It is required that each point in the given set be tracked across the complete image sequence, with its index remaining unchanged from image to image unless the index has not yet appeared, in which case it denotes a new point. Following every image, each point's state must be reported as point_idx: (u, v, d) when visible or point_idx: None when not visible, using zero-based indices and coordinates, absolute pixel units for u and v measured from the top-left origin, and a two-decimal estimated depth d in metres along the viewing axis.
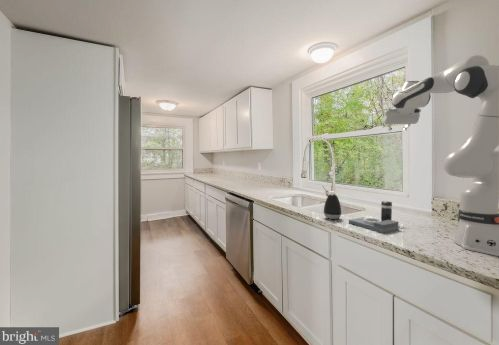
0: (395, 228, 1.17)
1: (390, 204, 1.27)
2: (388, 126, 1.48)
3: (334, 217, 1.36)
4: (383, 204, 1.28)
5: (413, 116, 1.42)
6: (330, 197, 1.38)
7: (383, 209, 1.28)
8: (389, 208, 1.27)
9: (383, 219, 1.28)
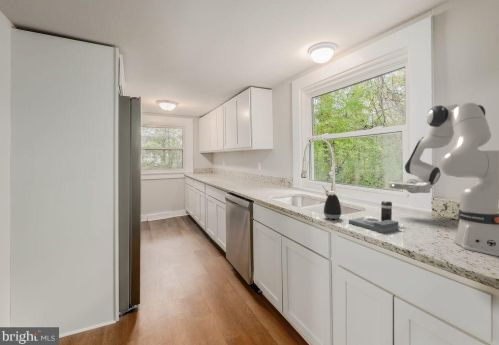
0: (395, 228, 1.17)
1: (390, 204, 1.27)
2: None
3: (334, 217, 1.36)
4: (383, 204, 1.28)
5: (421, 184, 1.33)
6: (330, 197, 1.38)
7: (383, 209, 1.28)
8: (389, 208, 1.27)
9: (383, 219, 1.28)
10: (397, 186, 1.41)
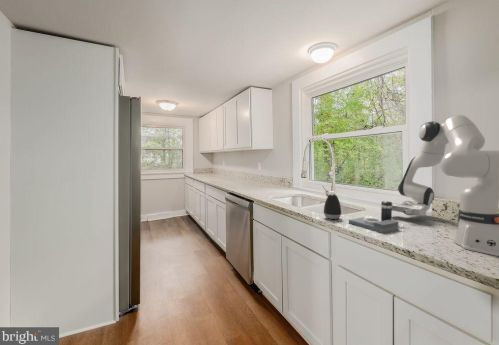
0: (395, 228, 1.17)
1: (390, 204, 1.27)
2: None
3: (334, 217, 1.36)
4: (383, 204, 1.28)
5: (417, 207, 1.32)
6: (330, 197, 1.38)
7: (383, 209, 1.28)
8: (389, 208, 1.27)
9: (383, 219, 1.28)
10: (393, 208, 1.40)
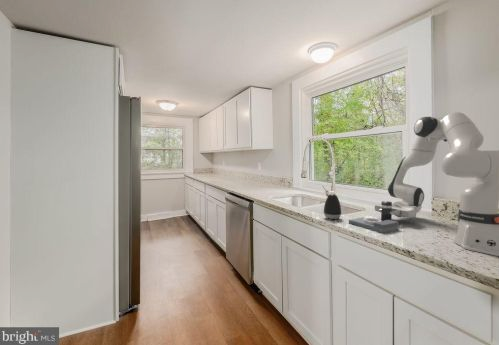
0: (395, 228, 1.17)
1: (390, 204, 1.27)
2: None
3: (334, 217, 1.36)
4: (383, 204, 1.28)
5: None
6: (330, 197, 1.38)
7: (383, 209, 1.28)
8: (389, 208, 1.27)
9: (383, 219, 1.28)
10: None
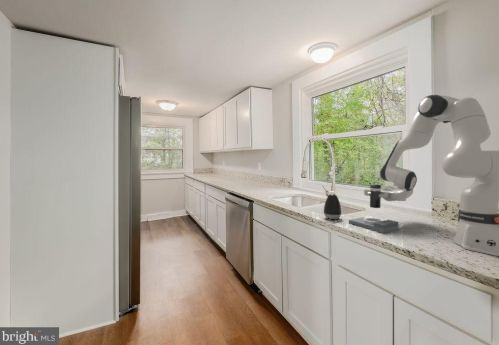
0: (395, 228, 1.17)
1: (379, 187, 1.22)
2: None
3: (334, 217, 1.36)
4: (372, 187, 1.23)
5: (396, 192, 1.22)
6: (330, 197, 1.38)
7: (372, 192, 1.23)
8: (378, 191, 1.22)
9: (372, 202, 1.23)
10: None
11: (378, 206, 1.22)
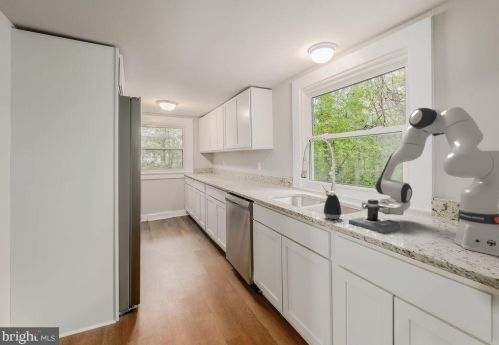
0: (395, 228, 1.17)
1: (376, 202, 1.21)
2: None
3: (334, 217, 1.36)
4: (369, 202, 1.23)
5: (394, 206, 1.22)
6: (330, 197, 1.38)
7: (369, 208, 1.23)
8: (375, 207, 1.21)
9: (369, 218, 1.23)
10: None
11: None
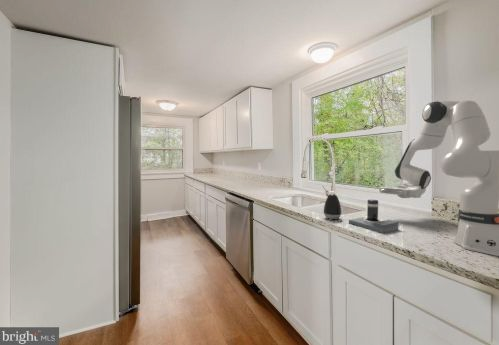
0: (395, 228, 1.17)
1: (376, 202, 1.21)
2: None
3: (334, 217, 1.36)
4: (369, 202, 1.23)
5: (412, 189, 1.29)
6: (330, 197, 1.38)
7: (369, 208, 1.23)
8: (375, 207, 1.21)
9: (369, 218, 1.23)
10: (387, 191, 1.36)
11: None
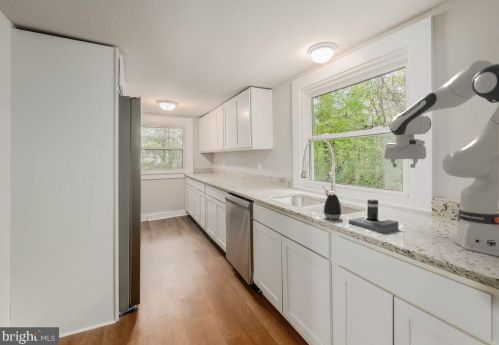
0: (395, 228, 1.17)
1: (376, 202, 1.21)
2: None
3: (334, 217, 1.36)
4: (369, 202, 1.23)
5: (415, 149, 1.21)
6: (330, 197, 1.38)
7: (369, 208, 1.23)
8: (375, 207, 1.21)
9: (369, 218, 1.23)
10: (395, 158, 1.32)
11: None
